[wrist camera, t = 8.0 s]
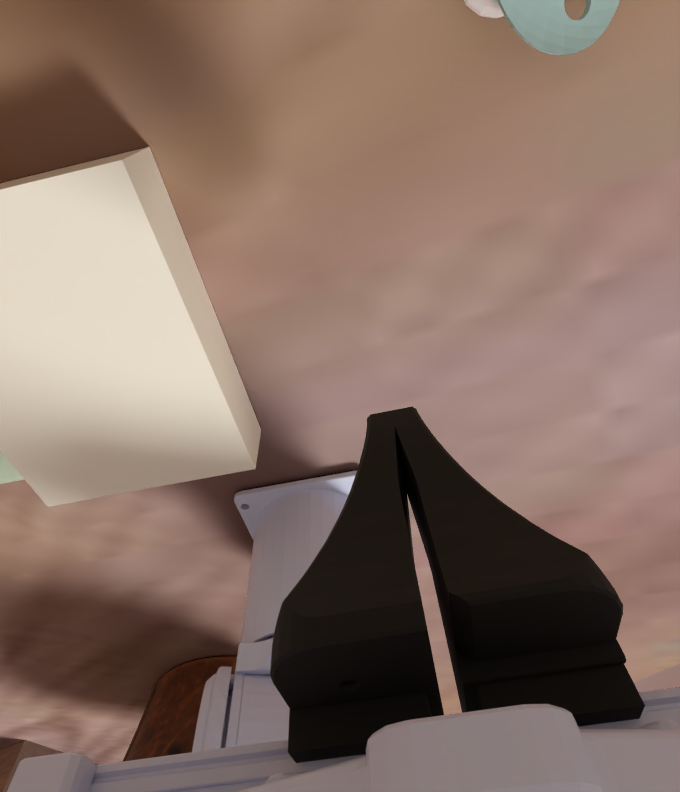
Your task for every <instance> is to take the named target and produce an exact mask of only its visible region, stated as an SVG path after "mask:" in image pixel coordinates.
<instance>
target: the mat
mask: <svg viewBox="0 0 680 792" xmlns="http://www.w3.org/2000/svg"><path fill="white" fill-rule="evenodd" d="M23 479H24V478H23V477H22V476H21V475H20V473H19V472H18V471H17V470H16V469H15V467H14V466H13V465H12V464H11V463H10V462H9V460H8V459H7V458H6V457H5V456H4V455H3V453H2V452H1V451H0V484H2V483H8V482H13V481H18V480H23Z"/></svg>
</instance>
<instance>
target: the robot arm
mask: <svg viewBox="0 0 680 792" xmlns="http://www.w3.org/2000/svg"><path fill="white" fill-rule="evenodd" d="M407 494H408V498H409V501H410V504H411V507H412V510H413V513H414V516H415V519H416V523H417V526H418V529H419V532H420V535H421V538H422V541H423V544H424V548H425V551H426V554H427V557H428V560H429V564H430V568H431V571H432V576H433V580H434V585H435V589H436V594H437V598H438V603H439V607H440V612H441V616H442V621H443V625H444V630H445V635H446V639H447V644H448V648H449V653H450V658H451V662H452V667H453V671H454V676H455V681H456V685H457V690H458V695H459V699H460V704H461V709H462V713H456V714H449V715H444V713H443V708H442V703H441V698H440V693H439V687H438V682H437V677H436V672H435V667H434V662H433V657H432V652H431V646H430V641H429V636H428V631H427V626H426V621H425V616H424V611H423V606H422V601H421V596H420V591H419V586H418V581H417V576H416V571H415V564H414V556H413V547H412V537H411V527H410V518H409V508H408V499H407ZM234 503H235V505H236V507H237V509H238V511H239V513H240V515H241V517H242V519H243V521H244V523H245V525H246V527H247V529H248V531H249V533H250V535H251V537H252V539H253V541H254V543H253V550H252V558H251V566H250V573H249V581H248V589H247V597H246V604H245V612H244V620H243V627H242V635H241V643H240V644H239V647H238V654H237V661H236V668H235V675H232V674H231V670H232V667H224V666H222V667H220V668H218V670H217V673H216V674H214V675H213V676H212V677H211V678H209V679H208V680H207V681H206V684H205V687H204V691H203V695H202V700H201V705H200V710H199V715H198V720H197V726H196V731H195V737H194V743H193V748H192V752H191V753H183V754H176V755H168V756H161V757H153V758H146V759H139V760H131V761H124V762H116V763H109V764H101V765H96V764H95V763H94V762H93V761H92V760H91V759H90V758H89V757H87V756H85V755H83V754H80V753H73V752H72V753H59V754H52V755H45V756H37V757H30V758H25V759H23V760H22V761H20V762H19V765H18V767H17V769H16V772H15V774H14V777H13V779H12V781H11V784H10V786H9V788H8V791H7V792H680V687H676V688H668V689H661V690H653V691H646V692H638V691H637V689H636V687H635V685H634V683H633V681H632V679H631V677H630V675H629V673H628V671H627V669H626V667H625V665H624V663H625V662H626V658H625V655H624V653H623V651H622V649H621V647H620V645H619V643H618V642H617V640H616V637H617V633H618V629H619V626H620V622H621V618H622V615H623V604H622V603H621V601H620V599H619V597H618V595H617V593H616V591H615V589H614V588H613V586H612V585H611V583H610V582H609V581H608V579H607V578H606V577H605V575H604V574H603V573H602V571H601V570H600V569H599V567H598V566H597V565H596V564H595V562H594V561H593V560H592V559H591V558H590V556H589V555H588V554H587V553H585V552H583V551H581V550H579V549H577V548H575V547H573V546H571V545H569V544H567V543H566V542H564V541H562V540H560V539H558V538H556V537H554V536H553V535H551V534H549V533H548V532H546V531H544V530H543V529H541V528H539V527H538V526H536V525H535V524H533V523H531V522H530V521H528V520H527V519H526V518H524V517H523V516H521V515H520V514H518V513H517V512H515V511H514V510H512V509H511V508H510V507H508V506H507V505H505V504H504V503H503V502H501V501H500V500H499V499H497V498H496V497H495V496H494V495H492V494H491V493H490V492H489V491H487V490H486V489H485V488H484V487H483V486H482V485H480V484H479V483H478V482H477V481H476V480H475V479H474V478H472V477H471V476H470V475H469V474H468V473H467V472H466V471H465V470H464V469H463V468H462V467H461V466H460V465H459V464H458V463H457V462H456V461H455V460H454V459H453V458H452V457H451V455H450V454H449V453H448V452H447V451H446V450H445V449H444V448H443V446H442V445H441V444H440V443H439V442H438V441H437V439H436V438H435V437H434V436H433V434H432V433H431V432H430V430H429V429H428V428H427V426H426V425H425V423H424V422H423V420H422V419H421V417H420V415H419V414H418V412H417V410H416V409H415V408H413V407H408V408H403V409H398V410H392V411H387V412H382V413H377V414H372V415H370V416H369V417H368V418H367V431H366V438H365V443H364V448H363V452H362V455H361V459H360V463H359V467H358V470H357V471H351V472H345V473H340V474H334V475H328V476H323V477H317V478H312V479H306V480H300V481H295V482H289V483H284V484H278V485H273V486H267V487H261V488H256V489H250V490H245V491H240V492H237V493H236V494H235V496H234ZM244 504H247V505H244Z"/></svg>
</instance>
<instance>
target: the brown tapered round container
mask: <svg viewBox="0 0 680 792" xmlns="http://www.w3.org/2000/svg"><path fill="white" fill-rule="evenodd" d="M236 661H237V657H211V658H204V659H199V660H195V661H191V662H188V663H185V664H182V665H180V666H178V667H175V668H174V669H172V670H170V671H169V672H168V673H166V674H165V675H164V676H163V677H162V678H161V679H159V680H158V681H157V682H156V683H155V685H154V687H153V689H152V692H151V695H150V698H149V701H148V704H147V706H146V709H145V711H144V714H143V716H142V718H141V721H140V723H139V725H138V728H137V730H136V733H135V735H134V737H133V739H132V742H131V744H130V746H129V748H128V751H127V753H126V755H125V757H124V760H123V762H124V761H131V760H139V759H146V758H153V757H161V756H168V755H176V754H183V753H191V752H192V748H193V743H194V737H195V731H196V726H197V720H198V715H199V710H200V705H201V700H202V695H203V691H204V687H205V684H206V681H207V680H208V679H209V678H211V677H212V676H213V675H214V674H216V673H217V670H218V668H220V667H222V666H224V667H232V670H231V674H232V675H235V668H236Z"/></svg>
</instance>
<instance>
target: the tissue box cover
mask: <svg viewBox="0 0 680 792" xmlns="http://www.w3.org/2000/svg"><path fill="white" fill-rule="evenodd" d="M59 753H63V752H60V751H57V750H54V749H51V748H48V747H45V746H42V745H39V744H36V743H33V742H30V741H27V740H24V741H21V742H19V743H17V744H14V745H12V746H9V747H7V748H4V749H2V750H0V792H7V791H8V788H9V786H10V784H11V781H12V779H13V777H14V774H15V772H16V769H17V767H18V765H19V762H20V761H22V760H23V759H25V758H30V757H37V756H45V755H52V754H59ZM95 764H96V763H95ZM96 765H99V764H96Z"/></svg>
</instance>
